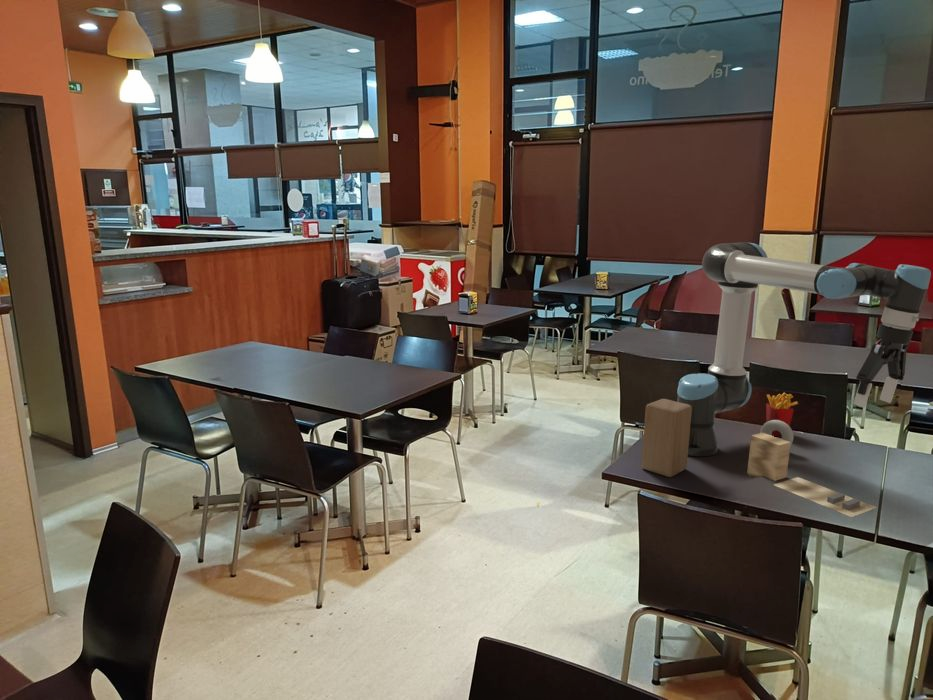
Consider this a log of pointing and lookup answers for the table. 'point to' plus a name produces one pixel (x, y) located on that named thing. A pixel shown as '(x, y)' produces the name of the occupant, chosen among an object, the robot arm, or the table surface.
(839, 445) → the table surface
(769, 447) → the block
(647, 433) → the block
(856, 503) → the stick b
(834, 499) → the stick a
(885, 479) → the table surface
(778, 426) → the donut
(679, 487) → the table surface
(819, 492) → the board
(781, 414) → the french fries
